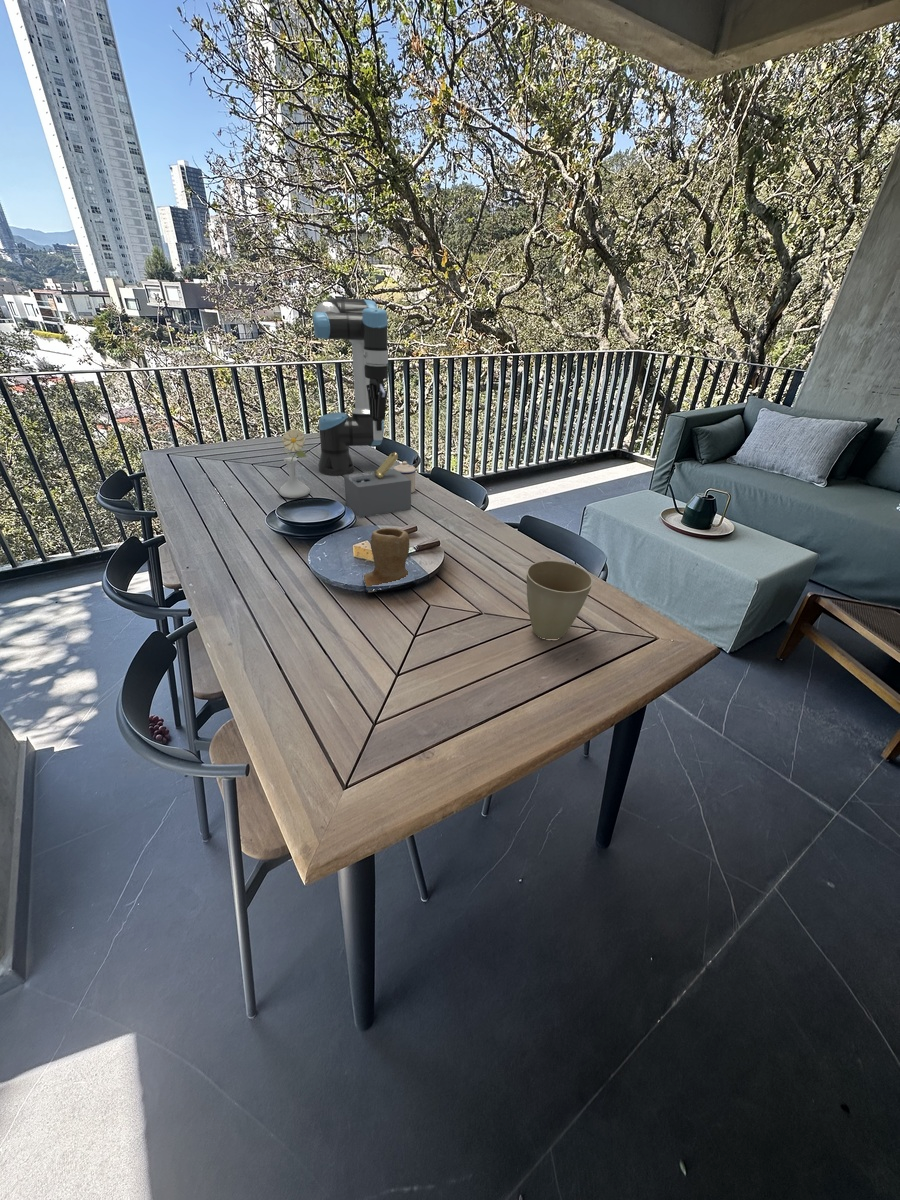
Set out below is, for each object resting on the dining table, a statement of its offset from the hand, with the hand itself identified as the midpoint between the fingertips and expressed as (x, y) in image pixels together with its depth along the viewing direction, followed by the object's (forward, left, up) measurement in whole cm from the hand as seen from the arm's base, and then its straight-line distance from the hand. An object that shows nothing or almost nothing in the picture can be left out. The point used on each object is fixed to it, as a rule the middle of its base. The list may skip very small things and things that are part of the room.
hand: (378, 439), depth 171 cm
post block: (0, -1, -24) cm, 24 cm away
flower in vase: (-22, -25, -25) cm, 41 cm away
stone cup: (+52, -20, -25) cm, 61 cm away
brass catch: (0, +4, -10) cm, 11 cm away
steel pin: (0, -7, -23) cm, 24 cm away
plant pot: (+91, +5, -25) cm, 94 cm away
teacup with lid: (-12, +14, -25) cm, 31 cm away
